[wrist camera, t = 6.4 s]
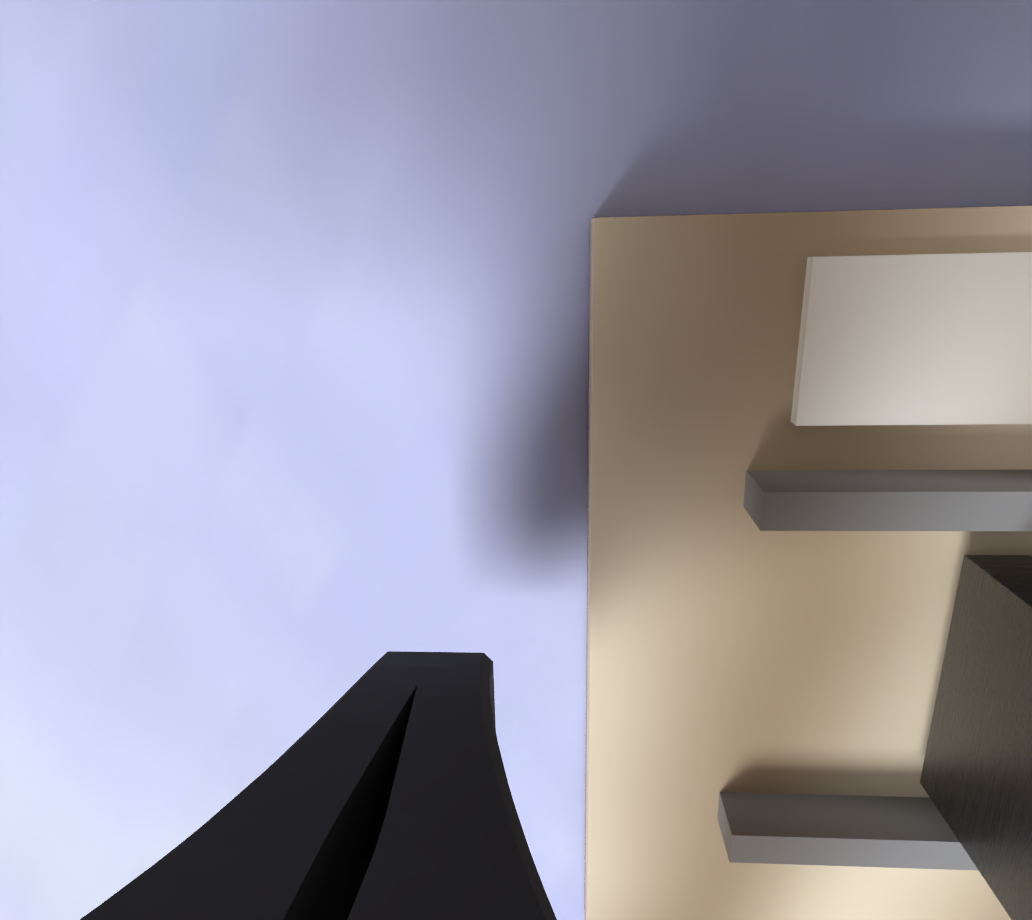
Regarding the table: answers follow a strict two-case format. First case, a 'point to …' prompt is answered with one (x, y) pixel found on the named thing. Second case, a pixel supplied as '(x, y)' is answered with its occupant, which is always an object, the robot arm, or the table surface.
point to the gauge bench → (791, 550)
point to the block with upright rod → (988, 726)
